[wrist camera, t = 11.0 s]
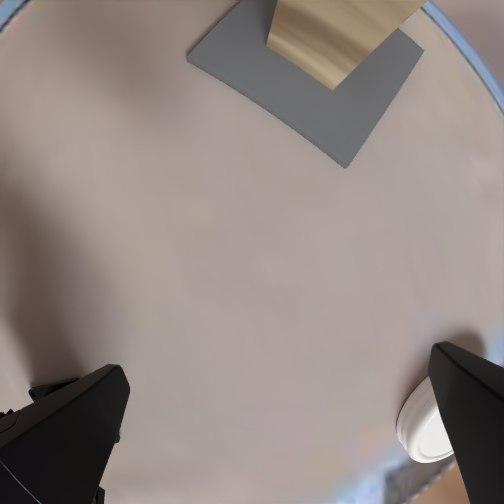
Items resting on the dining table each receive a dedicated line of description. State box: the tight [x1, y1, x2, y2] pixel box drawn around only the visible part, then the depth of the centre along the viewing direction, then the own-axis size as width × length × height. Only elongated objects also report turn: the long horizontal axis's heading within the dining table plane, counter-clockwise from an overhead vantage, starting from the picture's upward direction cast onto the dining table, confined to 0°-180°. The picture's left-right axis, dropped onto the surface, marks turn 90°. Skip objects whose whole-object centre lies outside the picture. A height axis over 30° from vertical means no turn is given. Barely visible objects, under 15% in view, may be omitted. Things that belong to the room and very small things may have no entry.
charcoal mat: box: [186, 0, 424, 168], centre depth 17 cm, size 12×12×1 cm
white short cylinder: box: [396, 376, 454, 463], centre depth 21 cm, size 10×10×4 cm
